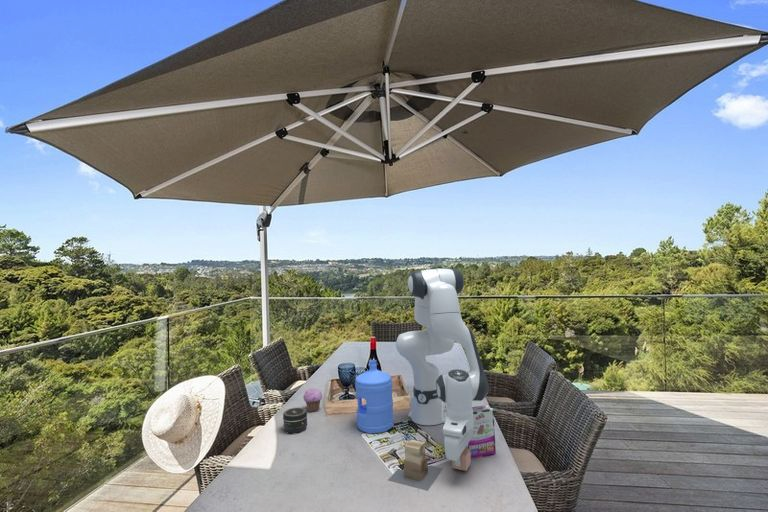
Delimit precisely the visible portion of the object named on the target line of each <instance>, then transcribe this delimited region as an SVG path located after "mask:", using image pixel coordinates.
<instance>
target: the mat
mask: <svg viewBox="0 0 768 512" xmlns="http://www.w3.org/2000/svg"><path fill="white" fill-rule="evenodd" d="M428 465H429V466H428V472H427V474H426V475H425V476H424V477H423V479H422V480H421V481H419V480H415V479H411V478H407V477H404V471H403V470H404V469H403V470H402V469H401V470H400V469H398V468H397V469H396V470H395V471H394V472H393V474H392V475H391V476H390V477H389V478H388V479H387V481H388V482H393V483H396V484H400V485H404V486H408V487H411V488H416V489H418V490H419V489H420V490H424V491H426V492H427V491H429V490H430V489H431V487H432V486H433V484H434V483H435V481H436V480H437V478H438V477H439V475H440V474H441V473H442V472H443V470H444V467H439V466H436V465H435V466H434V465H431V464H428Z"/></svg>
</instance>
